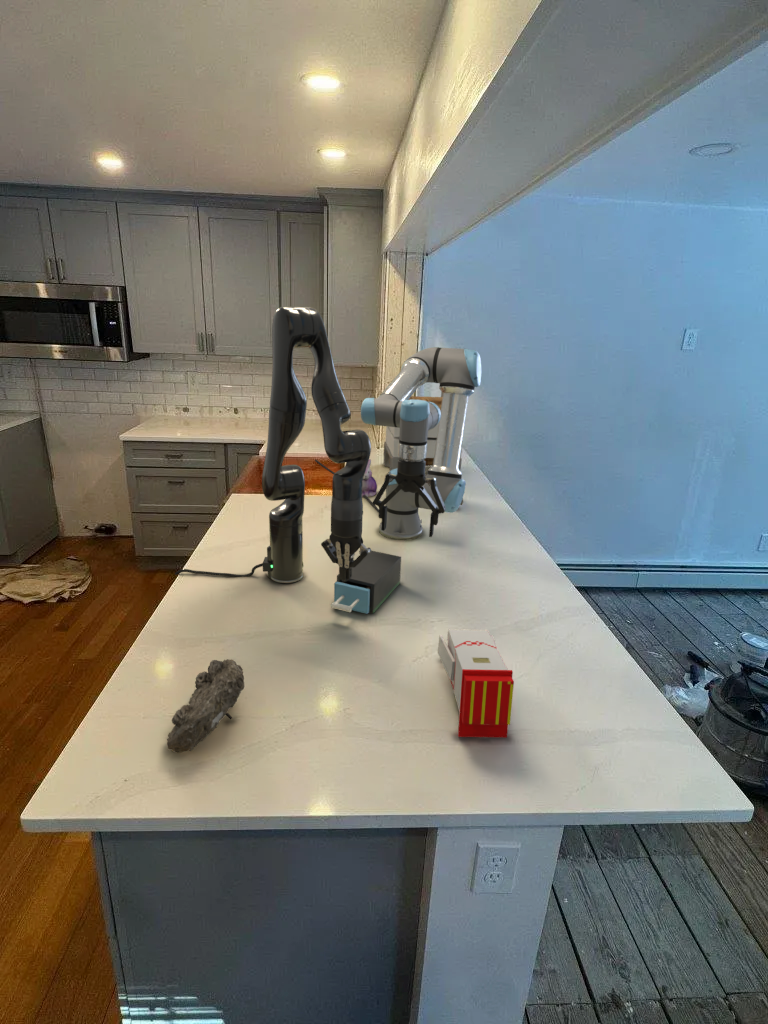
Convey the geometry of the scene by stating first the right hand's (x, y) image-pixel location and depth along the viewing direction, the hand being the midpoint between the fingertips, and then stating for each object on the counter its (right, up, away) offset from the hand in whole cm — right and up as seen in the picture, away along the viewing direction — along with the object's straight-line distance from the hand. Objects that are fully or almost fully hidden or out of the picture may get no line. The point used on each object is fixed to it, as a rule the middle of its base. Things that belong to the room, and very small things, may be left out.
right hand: (407, 532), depth 159 cm
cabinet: (-11, -17, -2) cm, 20 cm away
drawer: (-13, -18, -8) cm, 23 cm away
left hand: (-16, -11, -19) cm, 27 cm away
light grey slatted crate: (+11, +25, +116) cm, 119 cm away
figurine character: (+22, +9, +73) cm, 76 cm away
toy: (+11, -32, -41) cm, 53 cm away
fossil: (-39, -33, -51) cm, 73 cm away
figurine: (-14, +13, +81) cm, 83 cm away
